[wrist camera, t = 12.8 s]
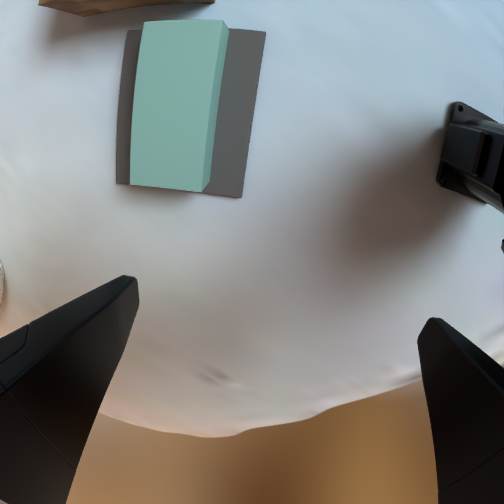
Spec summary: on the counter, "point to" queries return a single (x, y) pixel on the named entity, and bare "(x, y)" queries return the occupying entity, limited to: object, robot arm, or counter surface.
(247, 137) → the rubber mat
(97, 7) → the pocket board
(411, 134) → the counter surface
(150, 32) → the teal slab
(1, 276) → the lidded jar
